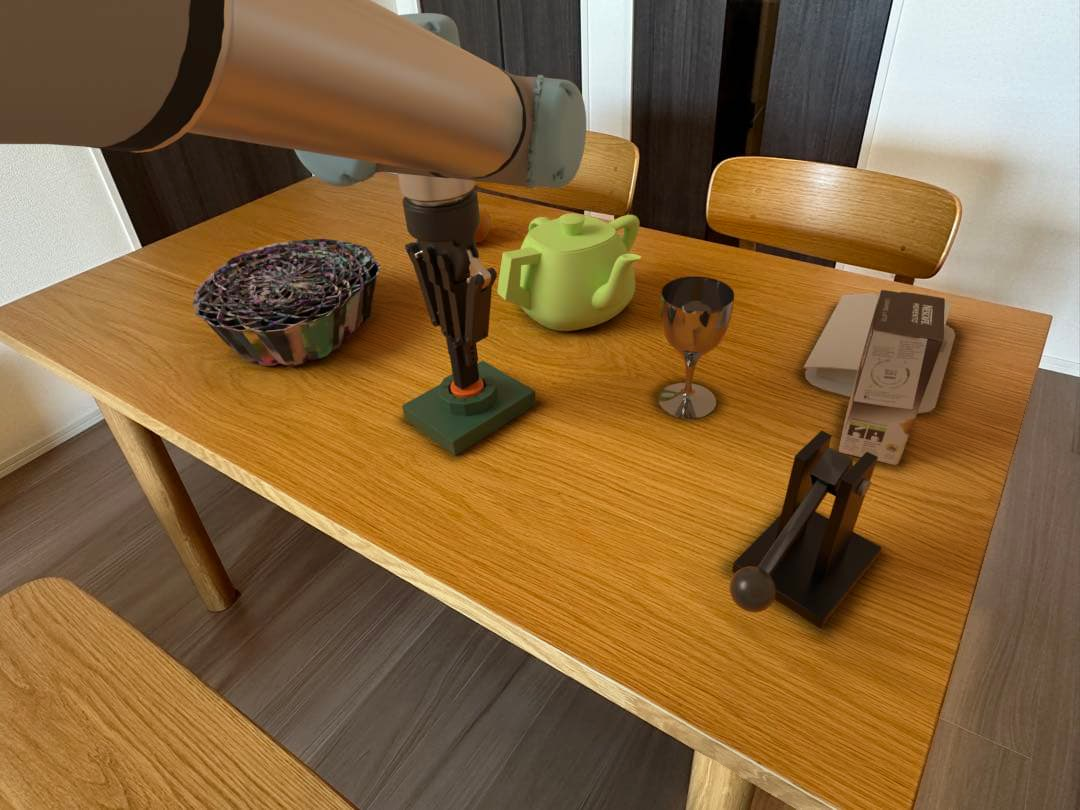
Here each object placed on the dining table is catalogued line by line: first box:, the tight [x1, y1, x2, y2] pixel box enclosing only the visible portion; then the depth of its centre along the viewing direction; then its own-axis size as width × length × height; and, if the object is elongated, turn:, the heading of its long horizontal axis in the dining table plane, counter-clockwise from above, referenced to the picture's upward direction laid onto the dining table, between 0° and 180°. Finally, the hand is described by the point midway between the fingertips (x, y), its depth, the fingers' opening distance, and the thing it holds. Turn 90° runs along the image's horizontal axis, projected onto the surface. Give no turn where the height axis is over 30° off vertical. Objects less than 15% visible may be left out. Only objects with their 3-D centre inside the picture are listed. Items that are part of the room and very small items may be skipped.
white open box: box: [803, 292, 956, 415], centre depth 90 cm, size 15×23×4 cm, turn 148°
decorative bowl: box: [192, 238, 382, 368], centre depth 102 cm, size 26×28×10 cm
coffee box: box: [838, 289, 946, 466], centre depth 74 cm, size 9×6×16 cm
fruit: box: [474, 203, 492, 245], centre depth 124 cm, size 8×8×8 cm
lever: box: [729, 446, 854, 613], centre depth 57 cm, size 15×4×4 cm, turn 134°
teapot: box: [496, 212, 642, 332], centre depth 100 cm, size 19×20×14 cm
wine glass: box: [657, 275, 735, 419], centre depth 81 cm, size 8×8×15 cm
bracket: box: [731, 430, 883, 629], centre depth 61 cm, size 11×9×14 cm
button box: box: [401, 360, 537, 457], centre depth 85 cm, size 13×10×4 cm
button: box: [451, 378, 484, 398], centre depth 84 cm, size 4×4×2 cm
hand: (466, 382), depth 84 cm, fingers closed
